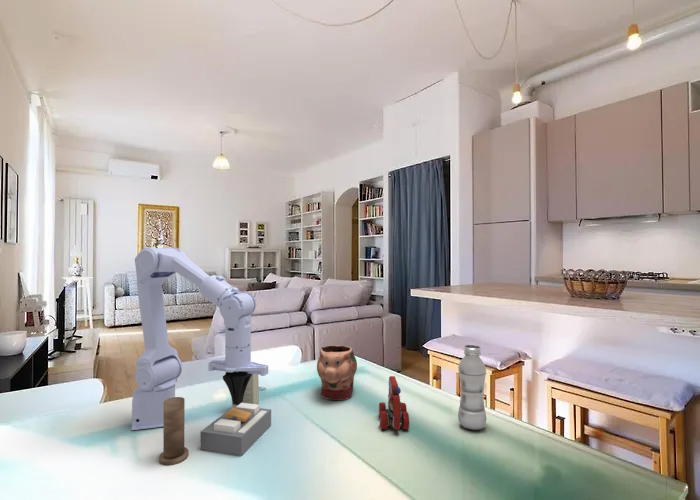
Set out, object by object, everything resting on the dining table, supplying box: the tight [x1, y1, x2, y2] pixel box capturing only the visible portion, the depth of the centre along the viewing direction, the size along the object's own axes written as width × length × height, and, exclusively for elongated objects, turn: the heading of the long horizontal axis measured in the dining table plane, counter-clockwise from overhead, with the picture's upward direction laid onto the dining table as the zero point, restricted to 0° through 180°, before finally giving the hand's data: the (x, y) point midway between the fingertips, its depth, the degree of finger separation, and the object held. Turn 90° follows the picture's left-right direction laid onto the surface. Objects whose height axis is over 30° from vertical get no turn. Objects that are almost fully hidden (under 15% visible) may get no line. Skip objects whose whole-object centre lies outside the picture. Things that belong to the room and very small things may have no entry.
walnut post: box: [158, 396, 190, 466], centre depth 78 cm, size 6×6×12 cm
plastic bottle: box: [457, 344, 487, 431], centre depth 92 cm, size 6×7×20 cm
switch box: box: [200, 403, 272, 457], centre depth 87 cm, size 10×14×5 cm
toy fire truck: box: [378, 375, 410, 430], centre depth 94 cm, size 7×12×10 cm, turn 179°
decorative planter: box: [316, 344, 358, 401], centre depth 113 cm, size 20×12×14 cm, turn 178°
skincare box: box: [231, 374, 260, 408], centre depth 100 cm, size 6×4×12 cm
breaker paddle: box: [225, 407, 251, 422], centre depth 87 cm, size 5×3×2 cm, turn 76°
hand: (237, 403), depth 87 cm, fingers closed
